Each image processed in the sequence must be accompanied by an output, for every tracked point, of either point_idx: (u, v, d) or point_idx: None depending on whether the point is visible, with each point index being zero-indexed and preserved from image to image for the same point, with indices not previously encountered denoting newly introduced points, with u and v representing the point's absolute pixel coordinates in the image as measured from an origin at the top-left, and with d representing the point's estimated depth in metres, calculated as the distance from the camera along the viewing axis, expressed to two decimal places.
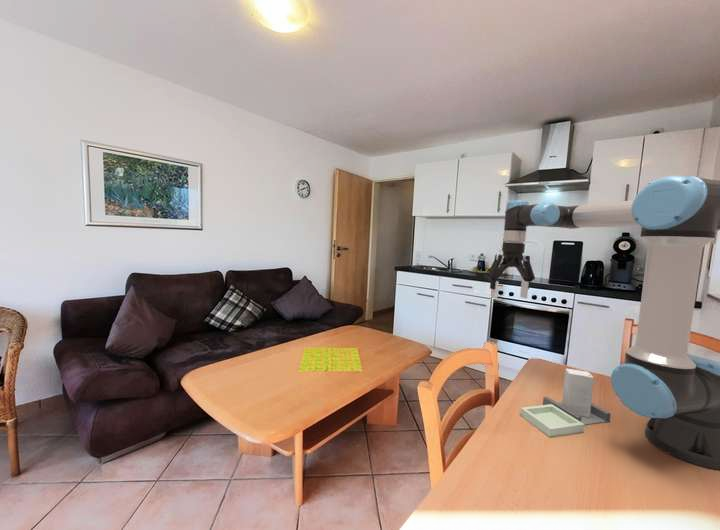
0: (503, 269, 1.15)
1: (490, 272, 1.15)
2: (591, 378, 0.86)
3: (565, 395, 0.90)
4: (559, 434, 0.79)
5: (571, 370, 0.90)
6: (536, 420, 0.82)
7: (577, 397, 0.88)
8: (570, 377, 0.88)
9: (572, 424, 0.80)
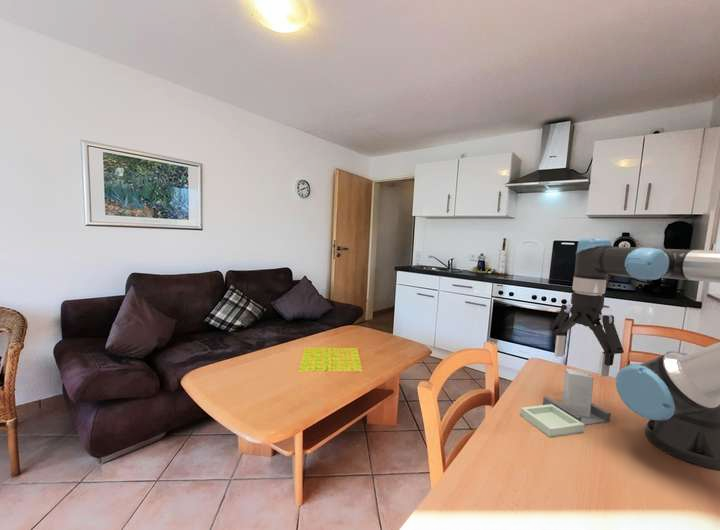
0: (566, 323, 0.92)
1: None
2: (591, 378, 0.86)
3: (565, 395, 0.90)
4: (559, 434, 0.79)
5: (571, 370, 0.90)
6: (536, 420, 0.82)
7: (577, 397, 0.88)
8: (570, 377, 0.88)
9: (572, 424, 0.80)
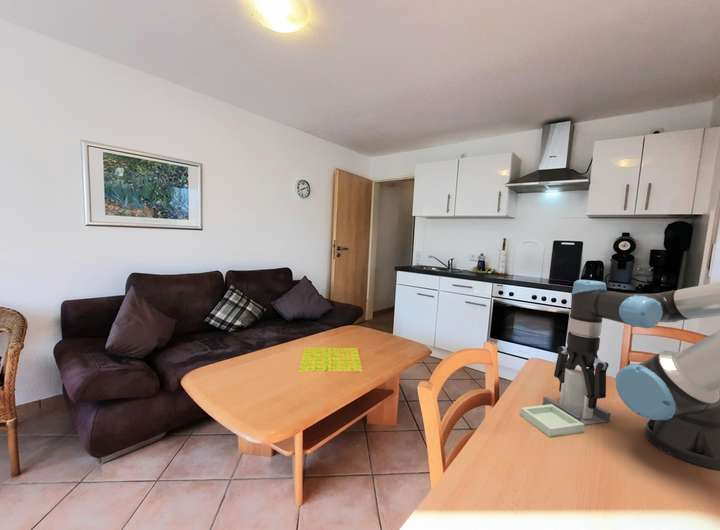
0: (567, 367, 0.92)
1: None
2: None
3: (565, 395, 0.90)
4: (559, 434, 0.79)
5: (571, 370, 0.90)
6: (536, 420, 0.82)
7: (577, 397, 0.88)
8: (570, 377, 0.88)
9: (572, 424, 0.80)
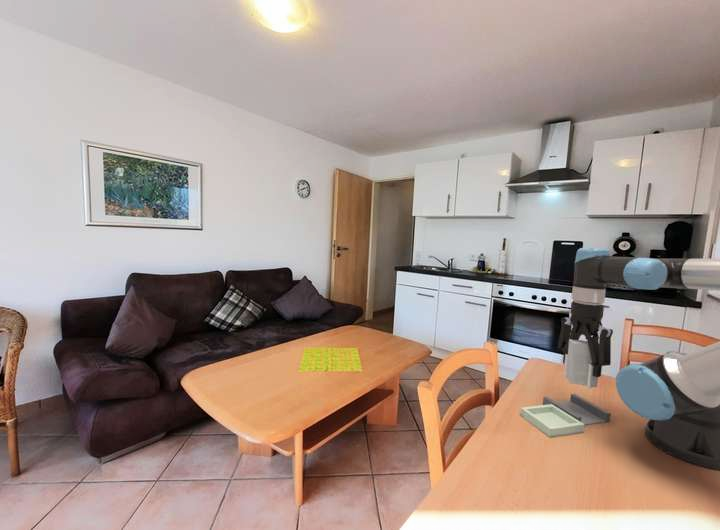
0: (570, 337, 0.91)
1: None
2: None
3: (569, 365, 0.89)
4: (559, 434, 0.79)
5: (575, 340, 0.89)
6: (536, 420, 0.82)
7: (581, 366, 0.87)
8: (574, 346, 0.87)
9: (572, 424, 0.80)
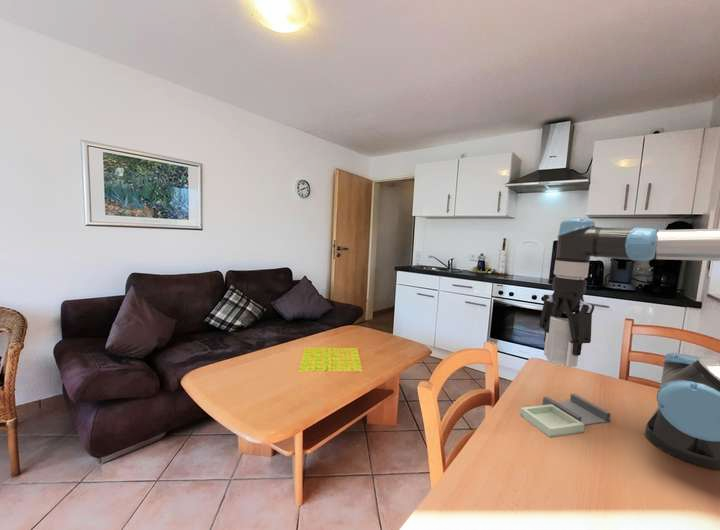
0: (552, 315, 0.86)
1: None
2: None
3: (549, 344, 0.85)
4: (559, 434, 0.79)
5: (556, 317, 0.85)
6: (536, 420, 0.82)
7: (561, 345, 0.82)
8: (554, 323, 0.82)
9: (572, 424, 0.80)
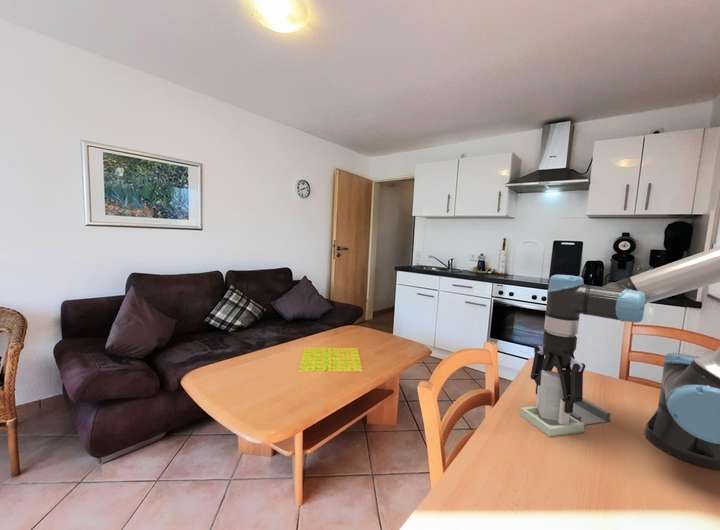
0: (543, 368, 0.85)
1: None
2: None
3: (541, 398, 0.84)
4: (559, 434, 0.79)
5: (547, 372, 0.84)
6: (536, 420, 0.82)
7: (553, 401, 0.82)
8: (546, 379, 0.82)
9: (572, 424, 0.80)
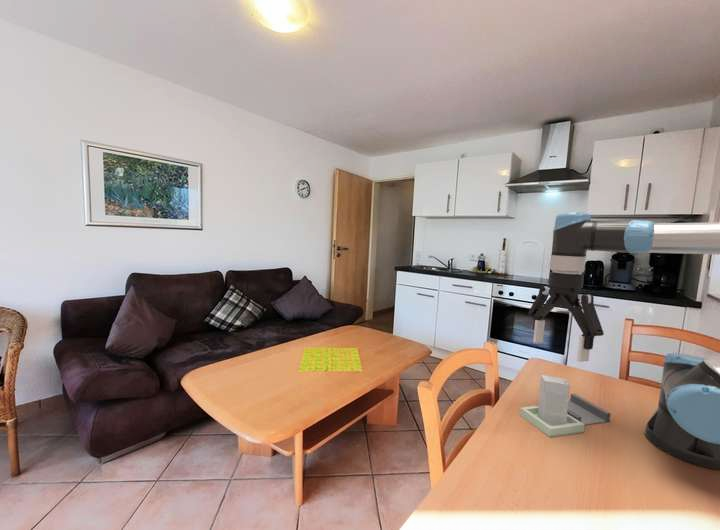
0: (544, 306, 0.86)
1: None
2: (567, 385, 0.81)
3: (540, 404, 0.84)
4: (559, 434, 0.79)
5: (547, 377, 0.84)
6: (536, 420, 0.82)
7: (552, 406, 0.82)
8: (545, 385, 0.82)
9: (572, 424, 0.80)
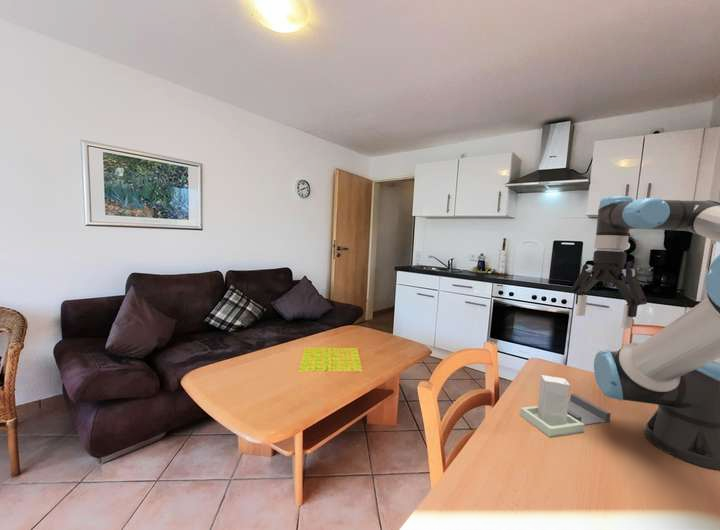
0: (588, 282, 0.95)
1: None
2: (567, 385, 0.81)
3: (540, 404, 0.84)
4: (559, 434, 0.79)
5: (547, 377, 0.84)
6: (536, 420, 0.82)
7: (552, 406, 0.82)
8: (545, 385, 0.82)
9: (572, 424, 0.80)
